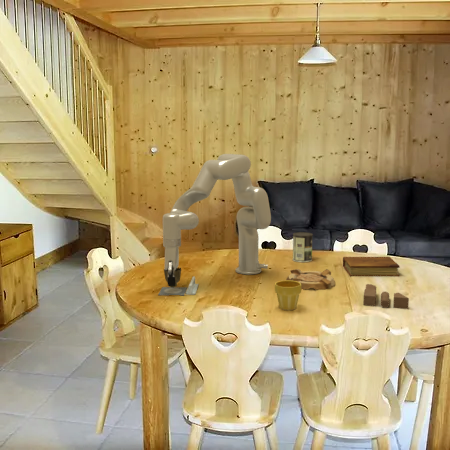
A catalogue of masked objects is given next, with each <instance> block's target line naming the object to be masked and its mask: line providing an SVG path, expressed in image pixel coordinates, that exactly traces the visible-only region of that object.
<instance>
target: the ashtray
mask: <svg viewBox="0 0 450 450" xmlns="http://www.w3.org/2000/svg"><path fill="white" fill-rule="evenodd" d="M286 280H291V281H297V282H300V283H301V290H302V289H303V291H304V290H310V289H314V290H315V291H321V290H322V291H324V290H328V289H332V288H334V287H335V286H336V280H335V279H334V277H333V276H332V271H331V270H330V269H324V270H323V271H318V270H306V271H305V270H304V271H303V270H301V269H298V268H296V269H291V270H290V274H289V275H288V276H287V277H286Z"/></svg>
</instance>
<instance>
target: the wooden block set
mask: <svg viewBox="0 0 450 450" xmlns="http://www.w3.org/2000/svg"><path fill="white" fill-rule="evenodd" d="M409 299H410V298H409V297H408V296H406V295H404V294H402V293H401V292H396V293H395V292H394V293H393V303H392V304H393V307H392V308H393V309H394V308H395V309H404V310H405V309H407V310H409V302H410V301H409ZM376 303H377V286H376V285H374V284H371V283H370V284H369V283H367V284H365V289H364V292H363V304H362V305H363V306H367V307H376ZM389 306H390V293H389V292H388V291H382V292H381V294H380V307H382V308H384V309H387V308H388V307H389Z"/></svg>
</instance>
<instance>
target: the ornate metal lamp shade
mask: <svg viewBox="0 0 450 450" xmlns="http://www.w3.org/2000/svg"><path fill="white" fill-rule="evenodd" d="M173 269H174V268H173ZM172 272H173V271H172ZM163 273H164V274H163V275H164V279H165V282H166V283H168V269H167V270H165V269H163ZM181 275H182V267H180V266H178V267H177V269H176V270H175V286H168V287H178V283H179V282H180V280H181Z"/></svg>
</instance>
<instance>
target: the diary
mask: <svg viewBox="0 0 450 450" xmlns="http://www.w3.org/2000/svg"><path fill="white" fill-rule="evenodd" d="M342 267H343V269H344V270H345V272H346V273H347V275H348V276H349V277H400V275H399V273H398V268H400V265H399V264H398V263H397V262H396V261H395V260H394V259H392V258H391V257H390V256H343V257H342Z"/></svg>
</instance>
